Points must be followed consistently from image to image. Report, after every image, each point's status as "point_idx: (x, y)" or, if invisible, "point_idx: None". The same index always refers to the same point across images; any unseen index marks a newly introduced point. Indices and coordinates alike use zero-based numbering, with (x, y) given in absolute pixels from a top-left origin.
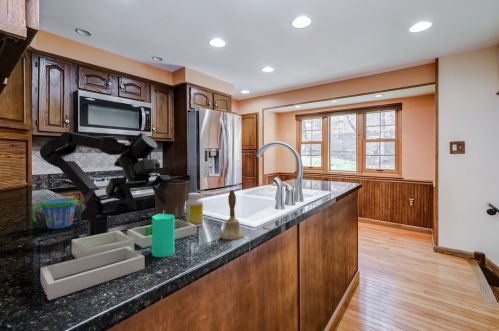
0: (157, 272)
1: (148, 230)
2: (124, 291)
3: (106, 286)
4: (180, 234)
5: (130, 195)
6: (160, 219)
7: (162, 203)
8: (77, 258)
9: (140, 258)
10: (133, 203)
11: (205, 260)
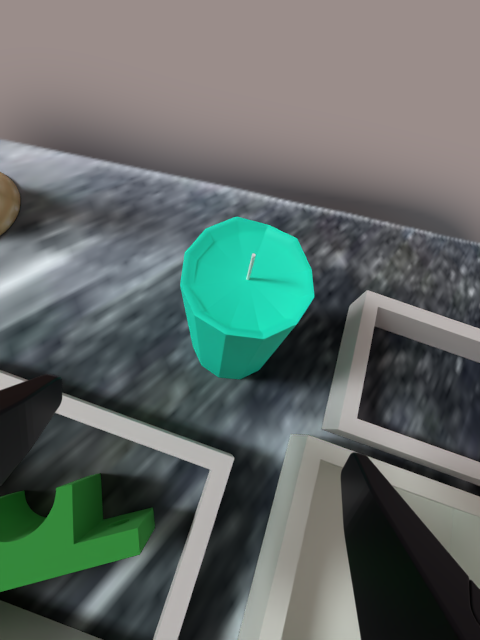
0: (344, 261)
1: (139, 524)
2: (440, 265)
3: (456, 318)
4: None
5: (472, 616)
6: (302, 252)
7: (45, 425)
8: None
9: (378, 295)
10: (397, 495)
11: (225, 193)
